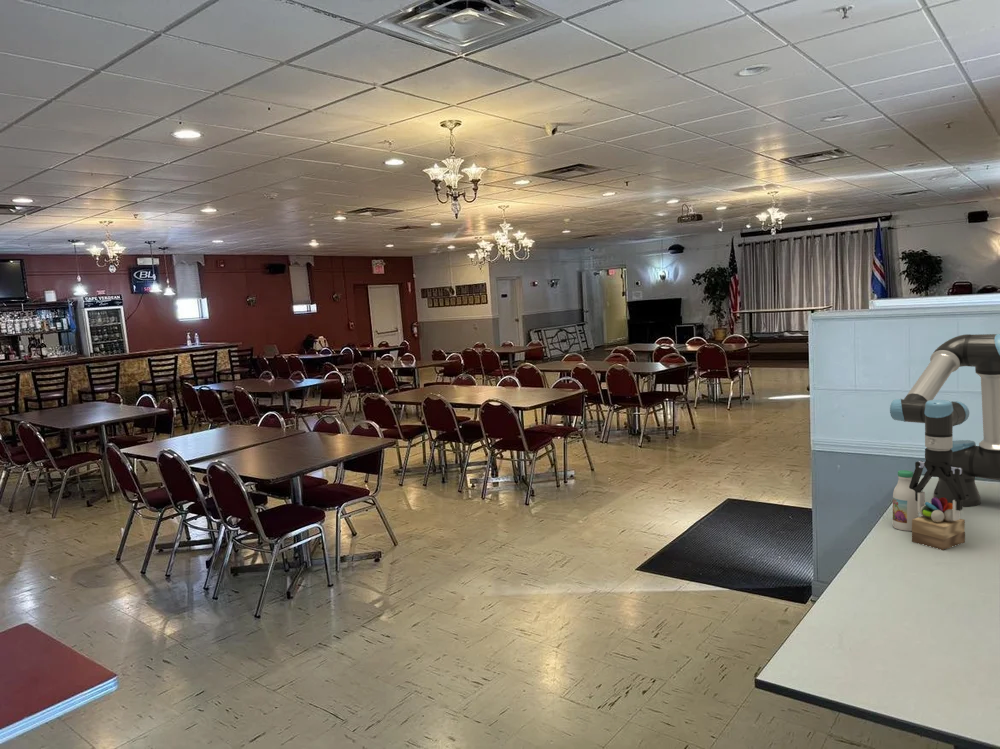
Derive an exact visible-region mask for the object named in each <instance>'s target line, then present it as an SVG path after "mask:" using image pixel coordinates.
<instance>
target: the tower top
mask: <svg viewBox="0 0 1000 749" xmlns="http://www.w3.org/2000/svg"><path fill="white" fill-rule="evenodd" d="M965 521H966V520H965V519H963V518H960V519H959V520H956V521H952V522H949V521H946V520H945V519H944V520H943V521H941V522H934V521H933V520H932V519H931V517H924V516H922V515H920V516H918V518H915V519H912V531H911V533H912V532H916V533H920V534H924V535H928V536H931V537H935V538H939V539H943V540H945V539H947V538H950V537H952V536H955V535H957V534H960V533H962V532H965V529H966V528H965V525H966V524H965V523H966V522H965ZM965 533H966V532H965Z"/></svg>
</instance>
